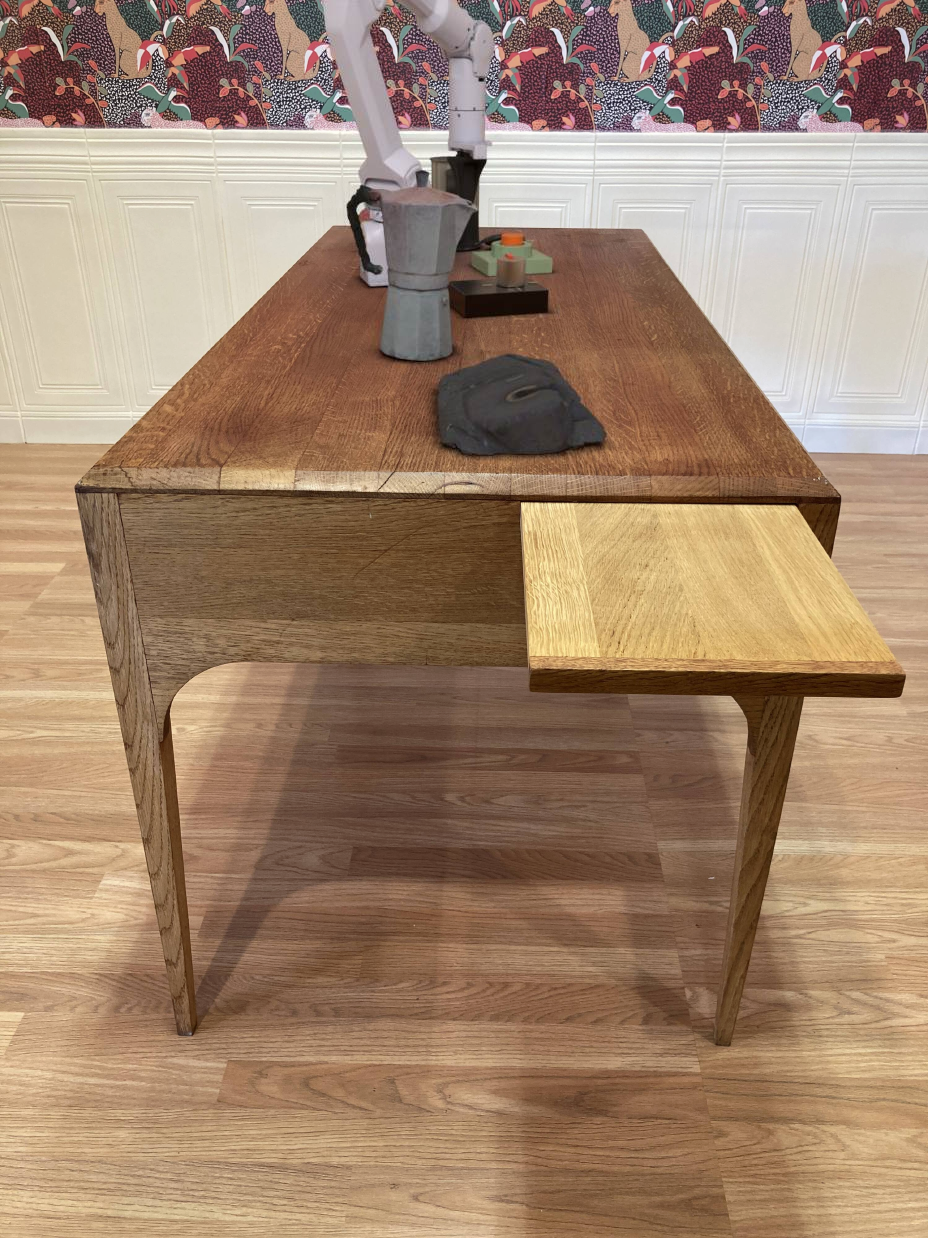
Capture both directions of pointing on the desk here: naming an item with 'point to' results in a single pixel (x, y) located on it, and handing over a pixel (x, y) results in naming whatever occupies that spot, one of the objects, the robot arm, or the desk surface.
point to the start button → (512, 239)
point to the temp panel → (496, 298)
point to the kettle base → (534, 259)
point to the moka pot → (415, 264)
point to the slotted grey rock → (513, 409)
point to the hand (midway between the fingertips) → (466, 203)
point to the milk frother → (445, 182)
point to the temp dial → (510, 271)
